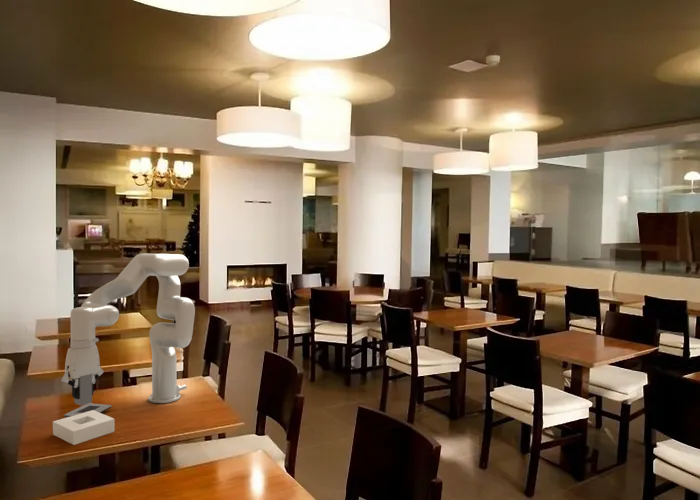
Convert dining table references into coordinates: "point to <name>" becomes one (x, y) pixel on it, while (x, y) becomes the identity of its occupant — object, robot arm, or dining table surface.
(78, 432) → the socket
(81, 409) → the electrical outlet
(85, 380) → the plug
